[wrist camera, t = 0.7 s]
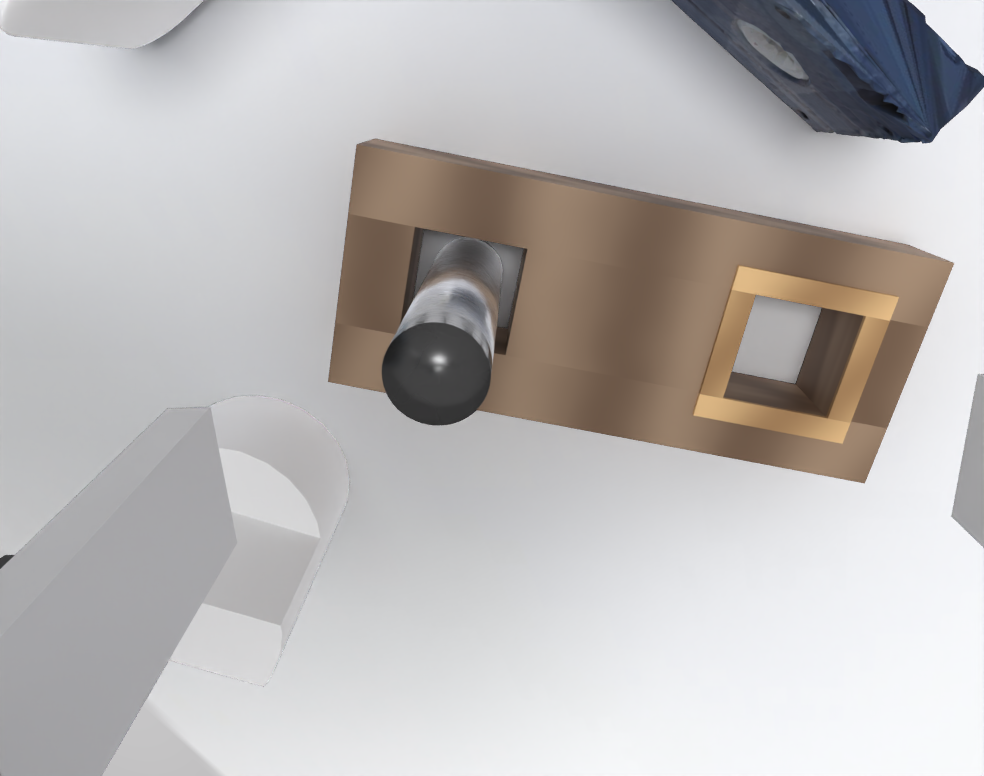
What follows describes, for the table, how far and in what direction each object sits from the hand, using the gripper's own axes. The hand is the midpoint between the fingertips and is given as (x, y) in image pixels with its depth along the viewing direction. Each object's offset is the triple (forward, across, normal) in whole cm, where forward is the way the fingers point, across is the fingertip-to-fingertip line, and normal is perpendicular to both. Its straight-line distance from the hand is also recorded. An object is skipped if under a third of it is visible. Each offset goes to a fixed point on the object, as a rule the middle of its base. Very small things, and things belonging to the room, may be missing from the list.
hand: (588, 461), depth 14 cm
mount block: (+23, +4, -3) cm, 23 cm away
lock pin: (+23, -3, -2) cm, 23 cm away
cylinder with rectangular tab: (+23, -14, -12) cm, 30 cm away
